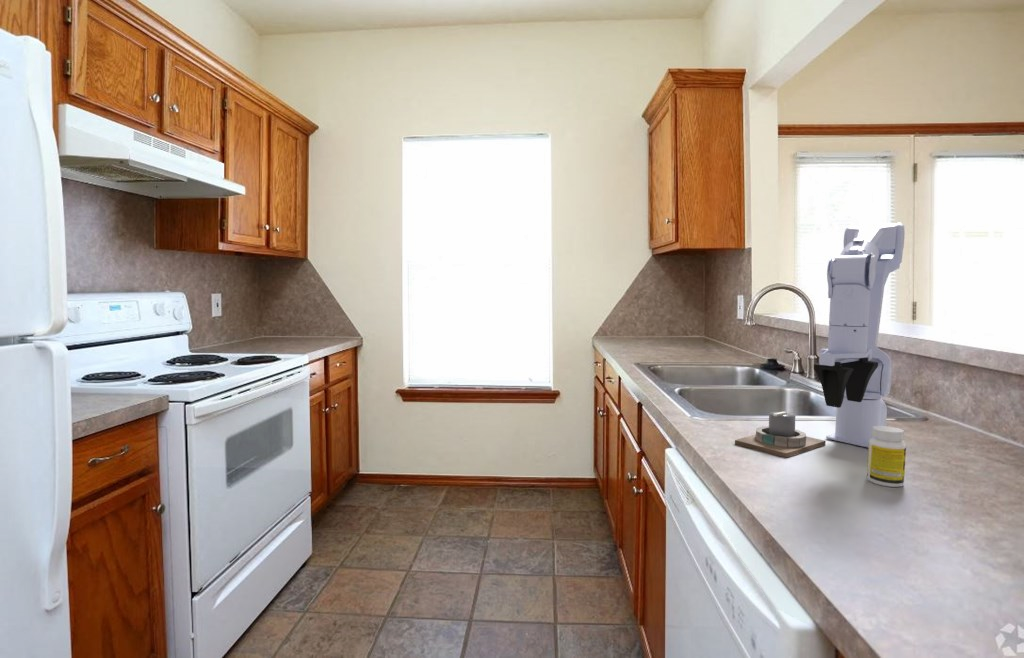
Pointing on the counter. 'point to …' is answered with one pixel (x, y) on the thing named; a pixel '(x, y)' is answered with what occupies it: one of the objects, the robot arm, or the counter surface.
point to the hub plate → (779, 448)
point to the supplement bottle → (886, 456)
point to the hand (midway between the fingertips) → (844, 403)
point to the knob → (782, 424)
